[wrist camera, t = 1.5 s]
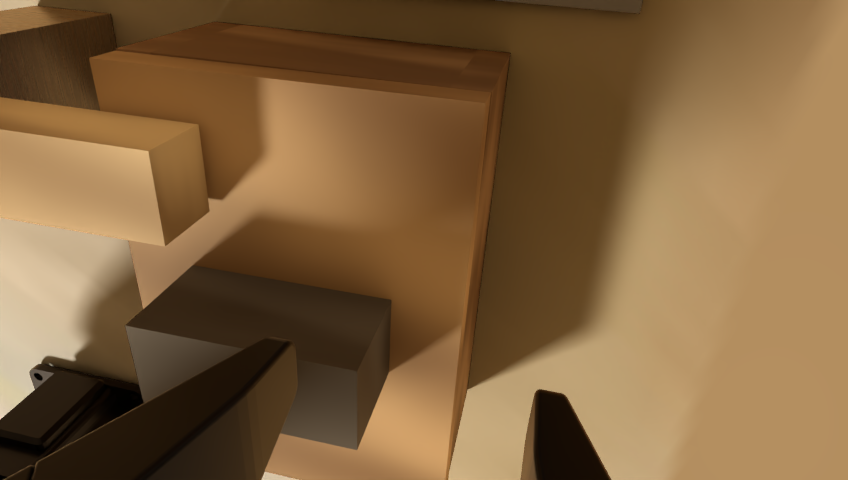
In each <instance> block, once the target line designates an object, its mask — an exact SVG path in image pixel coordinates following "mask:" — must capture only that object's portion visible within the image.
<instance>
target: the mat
mask: <svg viewBox="0 0 848 480" xmlns="http://www.w3.org/2000/svg"><path fill="white" fill-rule="evenodd" d="M497 1H508V2H519V3H530V4H541V5H552V6H562V7H573V8H584V9H595V10H606V11H617V12H628V13H639V14H640V10H641V6H642V1H643V0H497Z"/></svg>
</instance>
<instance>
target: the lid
mask: <svg viewBox="0 0 848 480" xmlns="http://www.w3.org/2000/svg"><path fill="white" fill-rule="evenodd" d="M89 61H90V65H91V70H92V75H93V79H94V84H95V88H96V93H97V98H98V102H99V107H100V111H104V112H112V113H119V114H126V115H134V116H141V117H148V118H155V119H163V120H170V121H177V122H185V123H192V124H199V132H200V140H201V148H202V155H203V163H204V171H205V178H206V186H207V194H208V202H209V209H210V212H208V213H207V214H206V215H205V216H203V217H202V218H201V219H199V220H198V221H197V222H196V223H194V224H193V225H192V226H191V227H189V228H188V229H187V230H186V231H184V232H183V233H182V234H180V235H179V236H178V237H177V238H175V239H174V240H173V241H172V242H170V243H169V244H168V245H166V246H159V245H153V244H148V243H142V242H136V241H130V240H128V241H129V246H130V250H131V255H132V260H133V264H134V269H135V274H136V278H137V283H138V287H139V292H140V297H141V301H142V306H143V310H142V311H141V312H140V313H139V314H138V315H136V316H135V317H134V318H133V319H132V320H131V321H130V322H129V323H127V324H126V325H125V327H126V331H127V336H128V340H129V344H130V348H131V352H132V357H133V361H134V365H135V369H136V373H137V377H138V382H139V386H140V390H141V394H142V398H143V403H145V402H147V401H149V400H151V399H153V398H155V397H156V396H158V395H160V394H162V393H164V392H166V391H167V390H169V389H171V388H173V387H175V386H177V385H178V384H180V383H182V382H184V381H186V380H188V379H189V378H191V377H193V376H195V375H197V374H199V373H200V372H202V371H204V370H206V369H208V368H210V367H211V366H213V365H215V364H217V363H219V362H221V361H222V360H224V359H226V358H228V357H230V356H232V355H233V354H235V353H237V352H239V351H241V350H243V349H244V348H246V347H248V346H250V345H252V344H254V343H255V342H257V341H259V340H261V339H263V338H265V337H277V338H282V339H287V340H291V341H292V342H293V343H294V345H295V348H296V362H297V379H298V384H297V391H296V395H295V398H294V400H293V403H292V405H291V408H290V410H289V413H288V415H287V418H286V420H285V423H284V425H283V428H282V430H281V432H280V435H279V437H278V440H277V442H276V445H275V447H274V450H273V452H272V455H271V457H270V460H269V462H268V464H267V467H266V469H265V472H269V473H274V474H278V475H282V476H287V477H291V478H295V479H299V480H448V476H449V467H450V458H451V449H452V440H453V431H454V422H455V413H456V404H457V395H458V386H459V377H460V368H461V359H462V349H463V340H464V331H465V322H466V313H467V304H468V295H469V286H470V277H471V268H472V259H473V250H474V241H475V232H476V223H477V214H478V205H479V196H480V187H481V178H482V169H483V160H484V151H485V142H486V133H487V124H488V115H489V106H490V97H491V92H484V91H475V90H466V89H457V88H448V87H439V86H430V85H421V84H412V83H403V82H394V81H385V80H376V79H367V78H358V77H349V76H340V75H331V74H322V73H313V72H304V71H295V70H286V69H277V68H268V67H259V66H250V65H241V64H232V63H223V62H214V61H205V60H196V59H187V58H178V57H169V56H160V55H151V54H142V53H133V52H124V51H112V52H109V53H105V54H101V55H98V56H94V57H90V58H89Z"/></svg>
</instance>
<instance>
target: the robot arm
mask: <svg viewBox="0 0 848 480" xmlns="http://www.w3.org/2000/svg"><path fill="white" fill-rule="evenodd" d="M30 377H31V379H32V382H33V385H34V388H35V390H34V391H33V392H32V393H31V394H30V395H28V396H27V397H26V398H25V399H24V400H23V401H21V402H20V403H19V404H18V405H17V406H16V407H15V408H13V409H12V410H11V411H10V412H9V413H8V414H6V415H5V416H4V417H3V418H2V419H1V420H0V480H261V479H262V477H263V474H264V472H265V469H266V467H267V464H268V462H269V460H270V457H271V455H272V452H273V450H274V447H275V445H276V442H277V440H278V437H279V435H280V432H281V430H282V428H283V425H284V423H285V420H286V418H287V415H288V413H289V410H290V408H291V405H292V403H293V400H294V398H295V395H296V391H297V384H298V379H297V362H296V348H295V345H294V343H293V342H292V341H291V340H287V339H282V338H277V337H265V338H263V339H261V340H259V341H257V342H255V343H254V344H252V345H250V346H248V347H246V348H244V349H243V350H241V351H239V352H237V353H235V354H233V355H232V356H230V357H228V358H226V359H224V360H222V361H221V362H219V363H217V364H215V365H213V366H211V367H210V368H208V369H206V370H204V371H202V372H200V373H199V374H197V375H195V376H193V377H191V378H189V379H188V380H186V381H184V382H182V383H180V384H178V385H177V386H175V387H173V388H171V389H169V390H167V391H166V392H164V393H162V394H160V395H158V396H156V397H155V398H153V399H151V400H149V401H147V402H145V403H143V398H142V394H141V390H140V386H139V385H135V384H130V383H125V382H121V381H116V380H112V379H107V378H103V377H98V376H94V375H89V374H84V373H80V372H75V371H71V370H66V369H62V368H57V367H53V366H48V365H43V364H38V365H36V366H35V367H34V368H33V369H31V370H30ZM521 480H611V478H610V476H609V475H608V473H607V471H606V469H605V467H604V465H603V463H602V462H601V460H600V458H599V456H598V454H597V452H596V450H595V449H594V447H593V445H592V443H591V441H590V439H589V437H588V435H587V434H586V432H585V430H584V428H583V426H582V424H581V422H580V421H579V419H578V417H577V415H576V413H575V411H574V409H573V407H572V406H571V404H570V402H569V400H568V398H567V397H566V396H565V395H564V394H562V393H557V392H552V391H547V390H542V389H539V390H537V391H536V392H535V395H534V399H533V404H532V409H531V414H530V418H529V423H528V428H527V433H526V440H525V447H524V455H523V464H522V473H521Z"/></svg>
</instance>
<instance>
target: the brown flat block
mask: <svg viewBox="0 0 848 480" xmlns="http://www.w3.org/2000/svg"><path fill="white" fill-rule="evenodd" d="M116 51H124V52H133V53H142V54H151V55H160V56H169V57H178V58H187V59H196V60H205V61H214V62H223V63H232V64H241V65H250V66H259V67H268V68H277V69H286V70H295V71H304V72H313V73H322V74H331V75H340V76H349V77H358V78H367V79H376V80H385V81H394V82H403V83H412V84H421V85H430V86H439V87H448V88H457V89H466V90H475V91H484V92H491V97H490V106H489V115H488V124H487V133H486V142H485V151H484V160H483V169H482V178H481V187H480V196H479V205H478V214H477V223H476V232H475V241H474V250H473V259H472V268H471V277H470V286H469V295H468V304H467V313H466V322H465V331H464V340H463V349H462V359H461V368H460V377H459V386H458V395H457V404H456V413H455V422H454V431H453V440H452V449H451V458H450V465H451V461H452V456H453V452H454V447H455V443H456V438H457V434H458V429H459V425H460V420H461V416H462V411H463V407H464V402H465V398H466V393H467V387H468V380H469V372H470V364H471V356H472V349H473V341H474V333H475V325H476V318H477V310H478V302H479V294H480V287H481V279H482V271H483V263H484V256H485V248H486V240H487V232H488V224H489V217H490V209H491V201H492V193H493V186H494V178H495V170H496V162H497V155H498V147H499V139H500V131H501V124H502V116H503V108H504V100H505V93H506V85H507V77H508V69H509V62H510V54H511V53H506V52H497V51H488V50H478V49H469V48H459V47H450V46H440V45H431V44H421V43H412V42H402V41H393V40H383V39H374V38H364V37H355V36H345V35H336V34H326V33H317V32H307V31H298V30H289V29H279V28H270V27H260V26H251V25H241V24H232V23H222V22H212V23H208V24H205V25H201V26H197V27H193V28H190V29H186V30H182V31H179V32H175V33H171V34H167V35H164V36H160V37H156V38H152V39H149V40H145V41H141V42H137V43H134V44H130V45H126V46H122V47H119V48H116ZM449 469H450V467H449Z"/></svg>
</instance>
